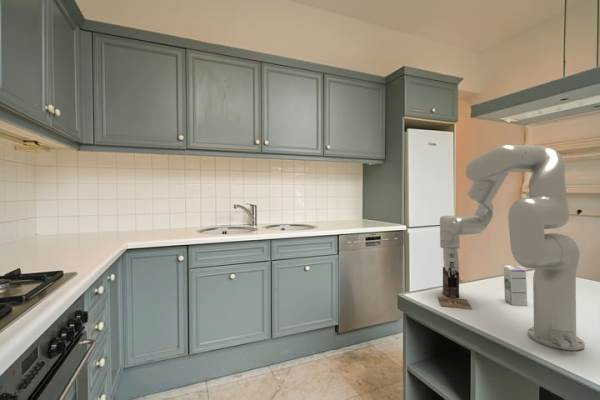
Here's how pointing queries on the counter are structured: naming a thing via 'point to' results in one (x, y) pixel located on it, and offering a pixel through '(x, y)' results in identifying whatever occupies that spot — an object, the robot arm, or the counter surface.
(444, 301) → the brown board
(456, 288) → the box
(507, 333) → the counter surface
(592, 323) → the counter surface
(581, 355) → the counter surface
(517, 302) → the syrup box
